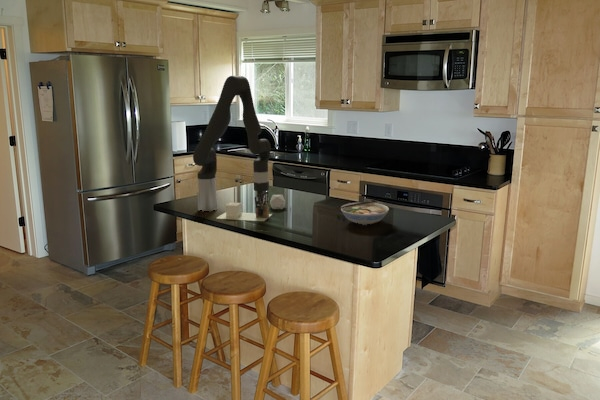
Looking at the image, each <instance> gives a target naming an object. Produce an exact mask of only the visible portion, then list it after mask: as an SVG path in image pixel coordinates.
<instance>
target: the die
mask: <svg viewBox="0 0 600 400" xmlns="http://www.w3.org/2000/svg"><path fill="white" fill-rule="evenodd" d="M269 204H270V206H271V209H272V210H284V208H285V205H286V200H285V198H284V195H283V194H272V196H271V198H270V200H269Z"/></svg>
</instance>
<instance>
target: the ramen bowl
mask: <svg viewBox="0 0 600 400" xmlns="http://www.w3.org/2000/svg"><path fill="white" fill-rule="evenodd" d="M377 202H378V200H376V199H370V200H366V201H361V202H352V203H351V202H349V203H346V204H343V205H341V206H340V207H335V208H334V209H335V210H338V209H340V211H341V212H342V215H344V217H345V218H346V219H348V220H349V221H350V222H353V223H355V224H357V223H358V224H357V225H359V224H362V225H361V226H368V225H367V224H370V225H372V224H375V223H378V222H380V221H381V220H382V219H384V217H386V215H387V214H388V213H389V210H390V208H389V207H388V206H386V205H385V204H382V203H377Z"/></svg>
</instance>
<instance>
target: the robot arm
mask: <svg viewBox="0 0 600 400" xmlns="http://www.w3.org/2000/svg"><path fill="white" fill-rule="evenodd" d="M251 89H252V88H251V85H250V82H249V80H248V79H247V78H246V77H245V76H243V75H230V76H228V77H227V78H226V79H225V81H224V83H223V86H222V89H221V92H220V95H219V99H218V102H217V104H216V106H215V108H214V110H213V113H212V114H211V117H210V119H209V122H208V124H207V127H206V129H205V131H204V132H203V135H202V137H201V139H200V141H199V142H198V144H197V146H196V148H195V150H194V151H193V154H192V155H193V156H192V160H193V162H194V164H195V165H196V166H199V167H201V169H199V171H198V172H197V188H198V189H197V190H198V192H196V197H197V198H196V199H197V210H198V211H200V210H202V211H201V212H204V211H209V212H214V211H213V210H215V211H217V210H218V198H217V183H216V182H217V181H216V180H217V179H216V175H217V170H218V167H217V161H218V159H217V152H216V150H215V149H214V148H213V147H214V145H215V144H216V143H217V142H218V141H219V140H220V138H221V137H223V135H224V134H225V132H226V131H227V129H228V127H229V125H230V123H231V117H232V115H231V106H232V103H233V101H234V98H235V97H236V96H239V98H240V100H241V102H242V121H243V126H244V128H245V131H246V133H247V143H248V144H247V145H248V149H249V151H250V153H251V154H253V155H255V156H257V158H256V159H254V160H253V164H252V166H253V176H252V179H253V182H252V183H253V191H255V192H256V196H255V197H254V203H255V204H254V205H255V209H256V208H258V216H263V205H268V203H269V190H270V175H269V160H270V155H271V149H272V148H271V143H270V141H269V140H268V138H267V139H266V138H260V139H259V135H261V133H262V131H263V130H262V127H261V124H260V122H259V119H258V117H257V113H256V109H255V105H254V100H253V96H252V91H251Z"/></svg>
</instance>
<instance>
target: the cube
mask: <svg viewBox="0 0 600 400" xmlns="http://www.w3.org/2000/svg"><path fill="white" fill-rule="evenodd" d="M242 207H243V205H242V202H234V201H233V202H231V201H230V202H229V203H227V204H225V212H226V217H236V218H238V217H239V216H240V215H242V213H243V212H242V211H243V209H242Z"/></svg>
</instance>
